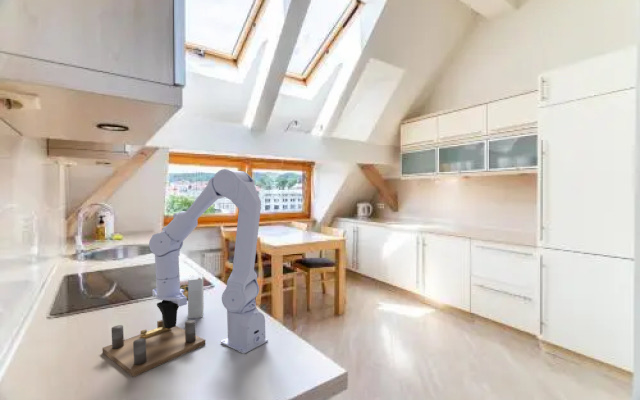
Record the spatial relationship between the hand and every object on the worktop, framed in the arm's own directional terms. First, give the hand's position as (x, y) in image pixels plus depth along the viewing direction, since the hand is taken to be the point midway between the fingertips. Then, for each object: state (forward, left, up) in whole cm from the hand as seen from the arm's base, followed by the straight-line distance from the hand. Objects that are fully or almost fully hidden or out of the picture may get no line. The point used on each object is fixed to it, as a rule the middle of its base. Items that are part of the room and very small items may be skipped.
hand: (170, 326), depth 85 cm
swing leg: (+2, +2, -1) cm, 4 cm away
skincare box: (+8, -12, -3) cm, 15 cm away
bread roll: (+28, -19, -3) cm, 34 cm away
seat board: (-3, +6, -3) cm, 7 cm away
